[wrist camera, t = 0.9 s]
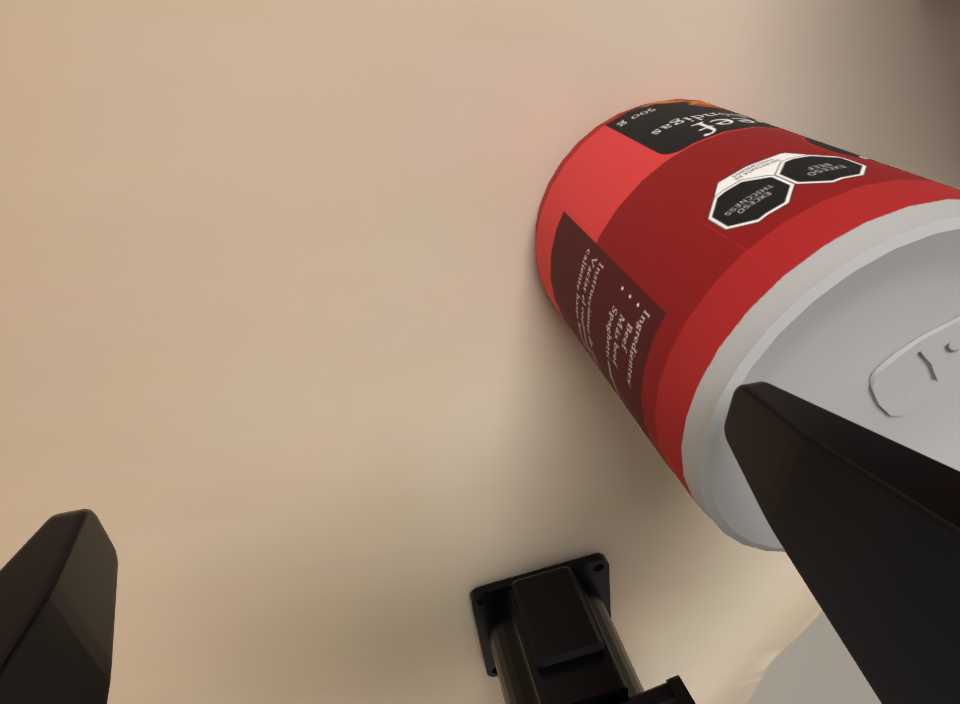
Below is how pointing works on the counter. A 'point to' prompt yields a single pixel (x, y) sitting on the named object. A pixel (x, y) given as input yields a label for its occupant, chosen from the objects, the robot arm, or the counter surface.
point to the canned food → (754, 286)
